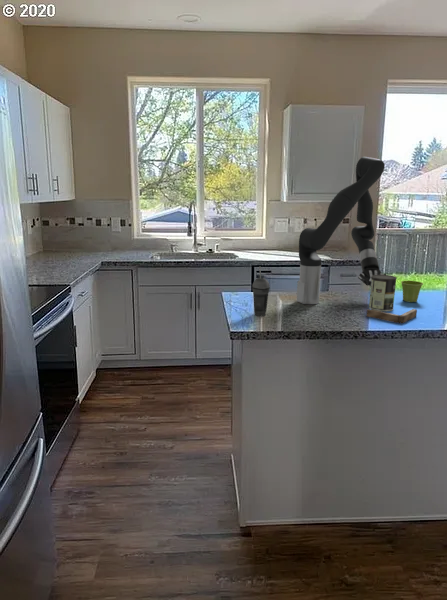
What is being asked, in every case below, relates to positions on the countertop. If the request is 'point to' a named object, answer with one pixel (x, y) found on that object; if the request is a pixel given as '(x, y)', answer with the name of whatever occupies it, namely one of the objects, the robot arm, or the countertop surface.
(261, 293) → the beverage cup
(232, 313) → the countertop surface
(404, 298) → the plant pot
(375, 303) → the coffee can
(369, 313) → the bracket
